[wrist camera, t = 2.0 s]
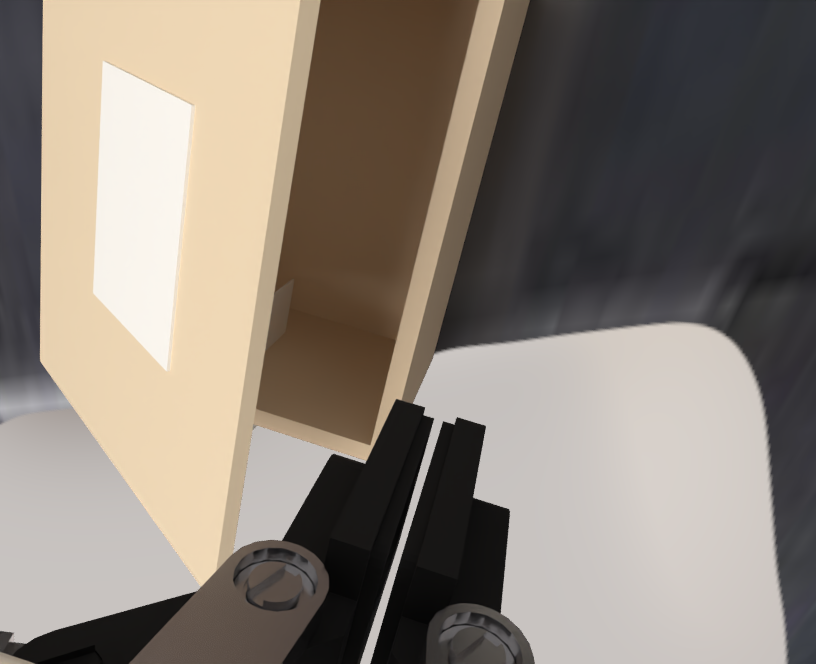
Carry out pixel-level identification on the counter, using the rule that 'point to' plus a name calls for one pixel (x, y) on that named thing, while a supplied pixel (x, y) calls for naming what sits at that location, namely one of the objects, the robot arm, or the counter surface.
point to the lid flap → (168, 237)
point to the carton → (380, 207)
